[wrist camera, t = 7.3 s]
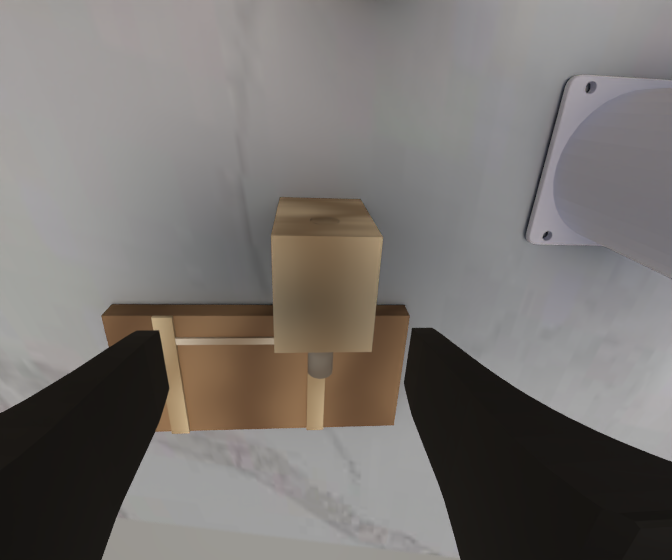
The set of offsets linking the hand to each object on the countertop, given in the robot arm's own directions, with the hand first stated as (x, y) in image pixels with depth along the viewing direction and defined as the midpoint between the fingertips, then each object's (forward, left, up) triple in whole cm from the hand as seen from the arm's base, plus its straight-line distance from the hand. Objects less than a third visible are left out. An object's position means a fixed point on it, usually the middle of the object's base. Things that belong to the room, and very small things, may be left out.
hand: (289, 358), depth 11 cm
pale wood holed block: (-1, +1, -10) cm, 10 cm away
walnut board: (+2, +8, -10) cm, 12 cm away
